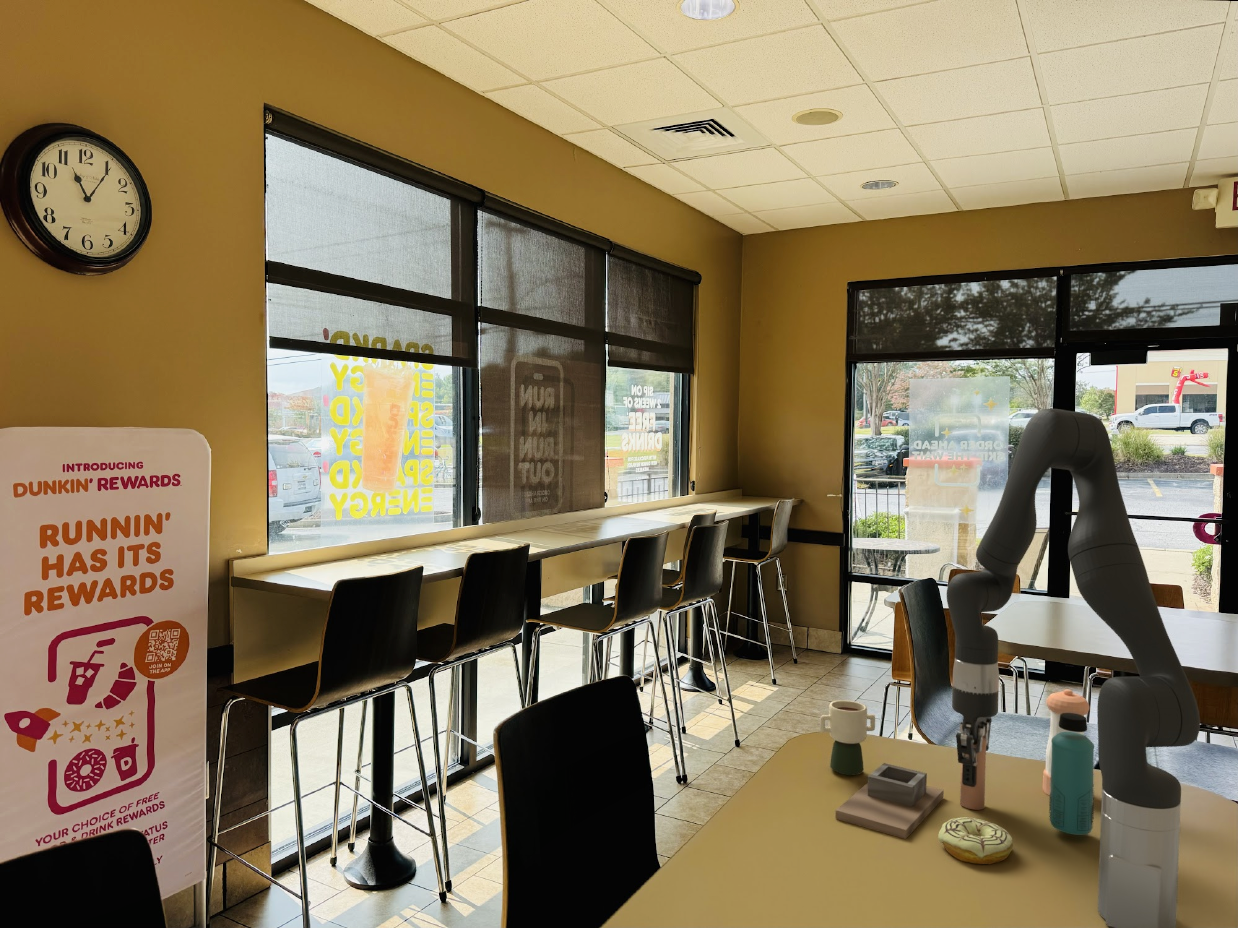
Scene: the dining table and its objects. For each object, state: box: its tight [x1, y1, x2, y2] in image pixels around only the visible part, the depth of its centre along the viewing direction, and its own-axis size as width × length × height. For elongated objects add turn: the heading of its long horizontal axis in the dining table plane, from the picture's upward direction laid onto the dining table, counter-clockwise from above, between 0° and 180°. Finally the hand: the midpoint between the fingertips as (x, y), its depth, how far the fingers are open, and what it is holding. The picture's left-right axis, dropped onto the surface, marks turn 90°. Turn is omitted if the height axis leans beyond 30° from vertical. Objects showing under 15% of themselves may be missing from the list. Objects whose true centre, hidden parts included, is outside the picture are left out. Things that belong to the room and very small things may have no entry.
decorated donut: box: [938, 816, 1014, 865], centre depth 141 cm, size 10×11×4 cm
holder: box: [835, 762, 944, 840], centre depth 156 cm, size 20×12×5 cm, turn 143°
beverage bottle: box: [1048, 713, 1095, 836], centre depth 146 cm, size 6×7×20 cm
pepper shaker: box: [1042, 688, 1090, 796], centre depth 163 cm, size 7×7×19 cm
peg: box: [959, 737, 987, 811], centre depth 157 cm, size 4×4×12 cm
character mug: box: [819, 699, 876, 776], centre depth 172 cm, size 11×7×13 cm, turn 95°
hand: (972, 780), depth 157 cm, fingers closed on peg, 4 cm apart
